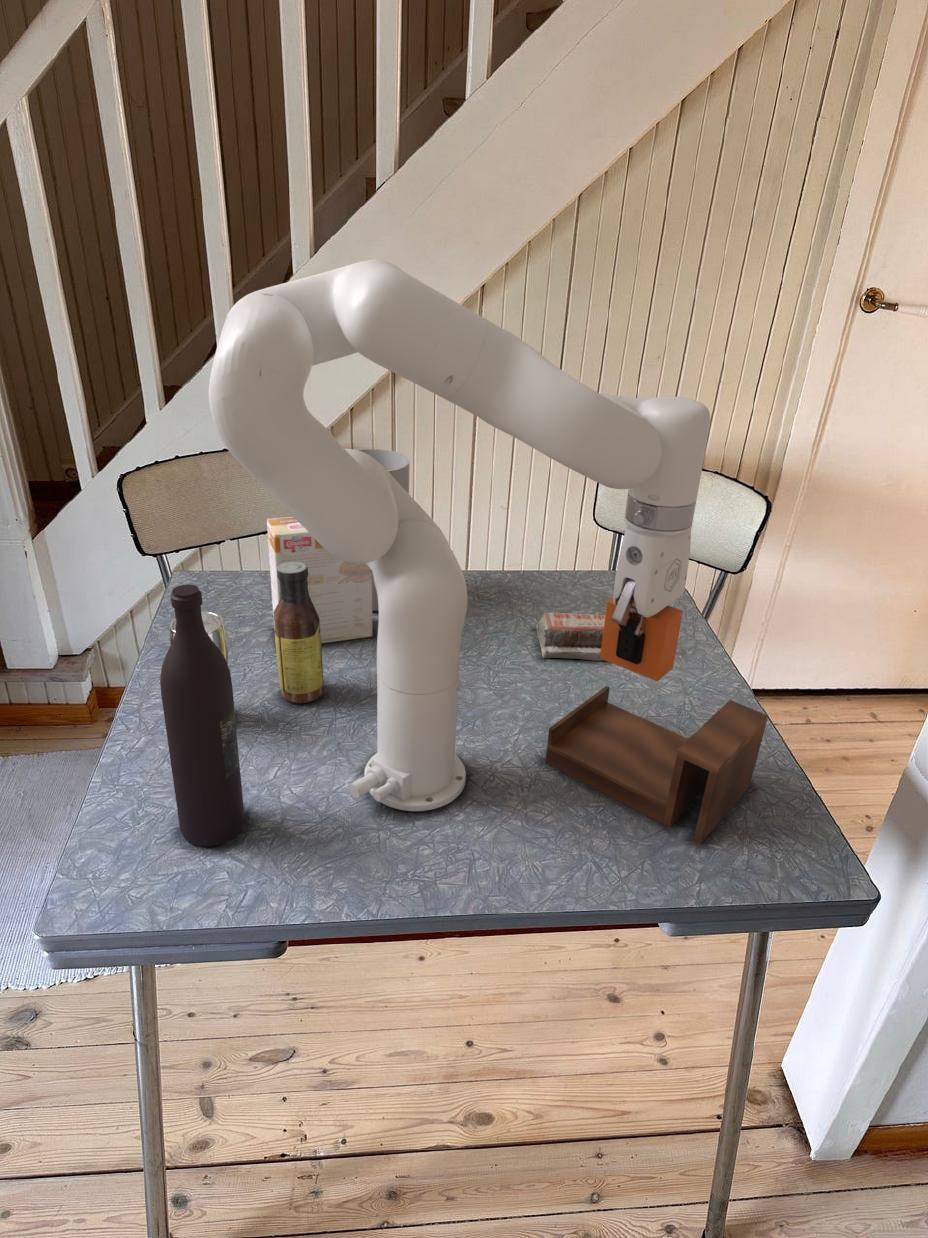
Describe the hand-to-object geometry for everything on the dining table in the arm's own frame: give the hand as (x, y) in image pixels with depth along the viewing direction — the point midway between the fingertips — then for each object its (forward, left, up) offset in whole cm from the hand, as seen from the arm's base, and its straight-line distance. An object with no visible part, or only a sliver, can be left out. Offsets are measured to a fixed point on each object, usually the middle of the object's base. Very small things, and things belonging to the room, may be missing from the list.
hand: (638, 650), depth 103 cm
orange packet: (0, 0, -2) cm, 2 cm away
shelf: (0, -4, -17) cm, 17 cm away
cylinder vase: (+11, +57, -17) cm, 60 cm away
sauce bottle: (-18, +42, -17) cm, 49 cm away
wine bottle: (-43, +28, -17) cm, 54 cm away
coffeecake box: (-4, +53, -17) cm, 56 cm away
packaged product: (+24, +19, -17) cm, 35 cm away
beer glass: (-31, +46, -17) cm, 58 cm away
